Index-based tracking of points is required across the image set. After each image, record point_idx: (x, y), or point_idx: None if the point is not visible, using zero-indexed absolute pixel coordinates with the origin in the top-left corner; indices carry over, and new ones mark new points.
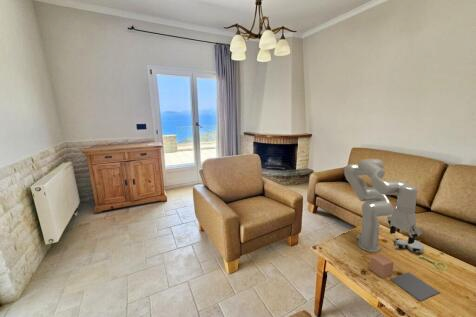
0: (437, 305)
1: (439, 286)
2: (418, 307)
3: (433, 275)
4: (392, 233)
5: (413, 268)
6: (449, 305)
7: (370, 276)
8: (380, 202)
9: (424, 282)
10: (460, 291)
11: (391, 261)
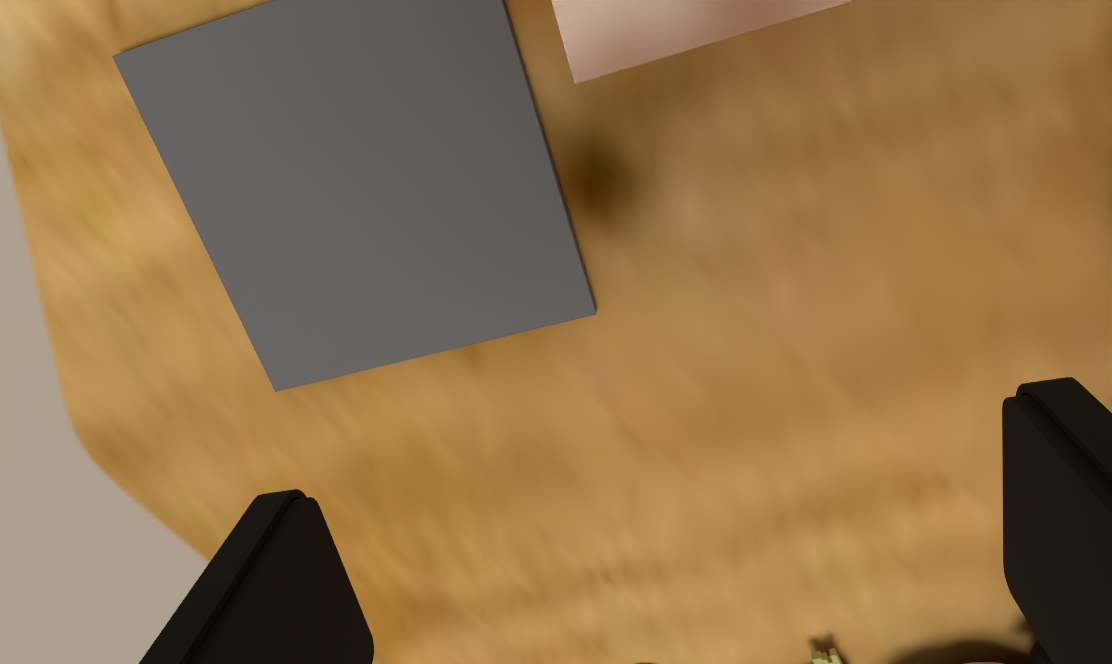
0: (102, 214)
1: (378, 464)
2: None
3: (540, 544)
4: (1008, 460)
5: (671, 437)
6: (124, 335)
7: None
8: None
9: (413, 355)
10: None
11: (582, 43)
